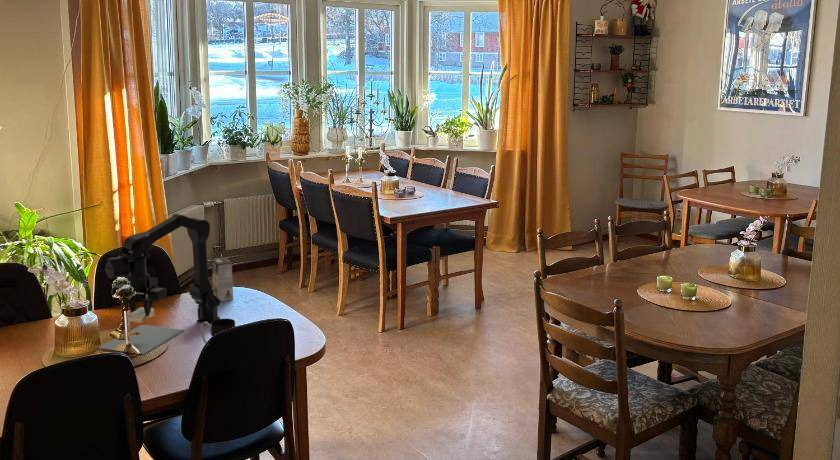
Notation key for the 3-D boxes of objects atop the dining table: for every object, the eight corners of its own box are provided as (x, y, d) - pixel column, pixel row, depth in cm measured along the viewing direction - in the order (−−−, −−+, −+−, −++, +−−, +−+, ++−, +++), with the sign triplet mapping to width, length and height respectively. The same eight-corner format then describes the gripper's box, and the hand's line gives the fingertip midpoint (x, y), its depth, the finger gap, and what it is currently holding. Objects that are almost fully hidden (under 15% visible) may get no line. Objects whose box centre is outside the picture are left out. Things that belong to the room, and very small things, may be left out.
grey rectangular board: (184, 331, 283) (184, 329, 283) (143, 355, 260) (143, 353, 260) (141, 325, 288) (141, 324, 288) (98, 348, 265) (98, 347, 265)
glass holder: (226, 373, 246) (223, 328, 243) (193, 364, 253) (190, 321, 250) (244, 364, 254) (242, 320, 250) (212, 355, 261) (210, 313, 257)
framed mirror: (140, 322, 268) (140, 315, 267) (128, 321, 269) (127, 314, 269) (154, 315, 276) (153, 308, 275) (141, 314, 277) (141, 306, 276)
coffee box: (212, 295, 323) (210, 258, 320) (227, 293, 327) (225, 256, 323) (218, 302, 316) (216, 264, 312) (234, 299, 319) (232, 262, 315)
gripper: (174, 268, 273) (177, 310, 277) (129, 264, 279) (132, 305, 282) (155, 277, 263) (158, 320, 267) (109, 272, 268) (112, 315, 272)
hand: (141, 315), depth 272 cm, fingers closed on framed mirror, 5 cm apart
